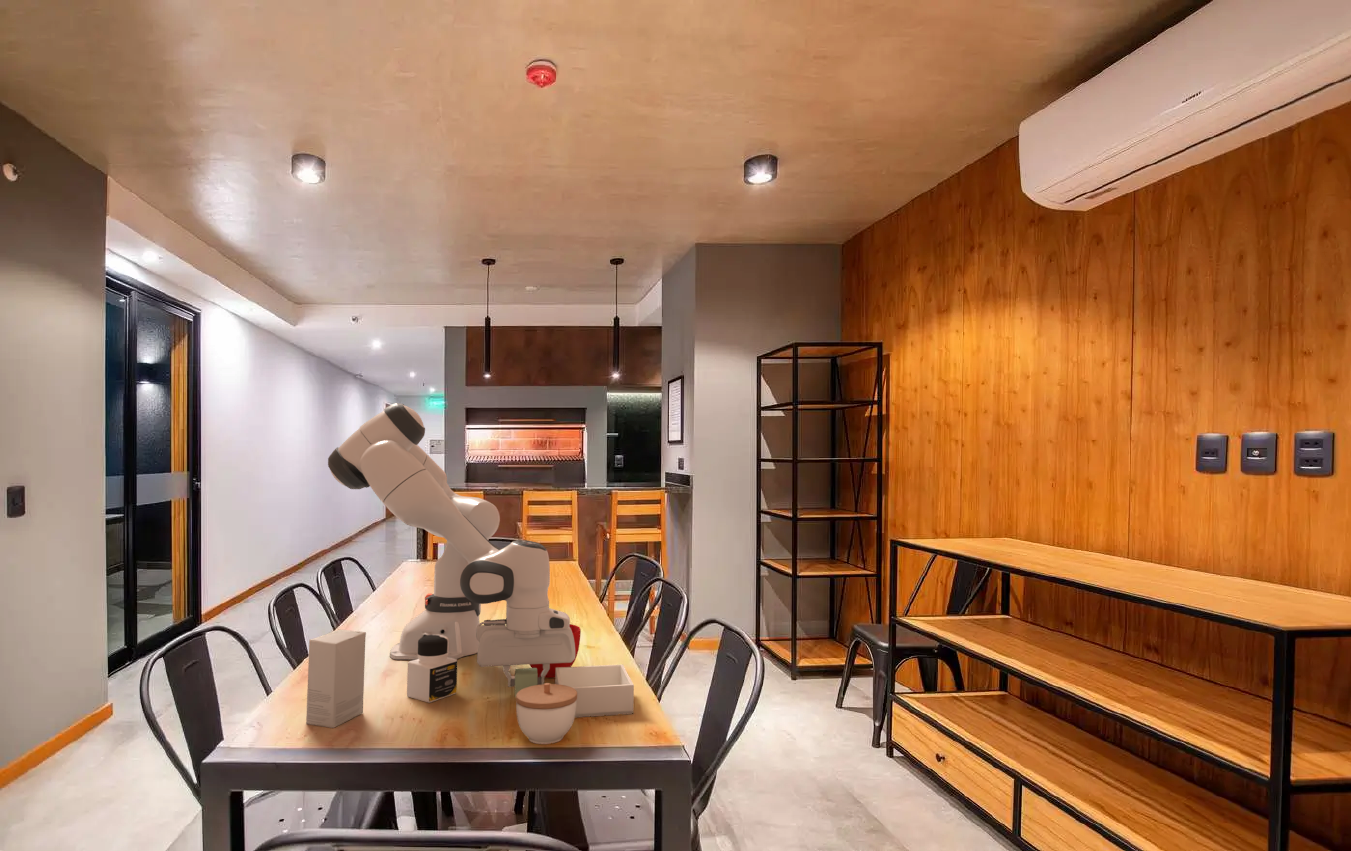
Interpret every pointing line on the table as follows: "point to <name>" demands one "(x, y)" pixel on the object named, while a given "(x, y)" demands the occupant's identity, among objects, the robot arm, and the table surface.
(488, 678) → the table surface
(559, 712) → the lidded jar
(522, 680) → the sage cube
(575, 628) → the ceramic cup
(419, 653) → the medicine bottle
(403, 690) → the table surface
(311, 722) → the skincare box
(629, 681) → the tub
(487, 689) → the table surface
